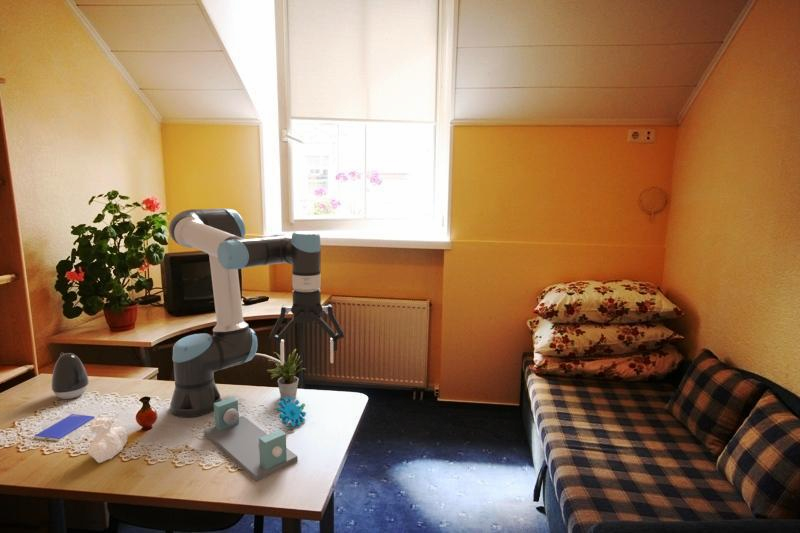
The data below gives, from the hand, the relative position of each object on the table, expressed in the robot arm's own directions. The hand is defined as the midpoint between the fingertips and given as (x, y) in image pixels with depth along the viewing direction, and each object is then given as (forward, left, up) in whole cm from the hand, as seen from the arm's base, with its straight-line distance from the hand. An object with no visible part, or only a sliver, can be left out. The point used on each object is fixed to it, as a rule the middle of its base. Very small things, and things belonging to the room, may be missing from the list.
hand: (307, 362), depth 126 cm
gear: (-12, +2, -24) cm, 27 cm away
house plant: (-29, +11, -24) cm, 39 cm away
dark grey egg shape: (-80, -42, -24) cm, 93 cm away
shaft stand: (-9, -14, -24) cm, 29 cm away
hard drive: (-56, -48, -25) cm, 77 cm away
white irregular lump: (-33, -43, -24) cm, 59 cm away
